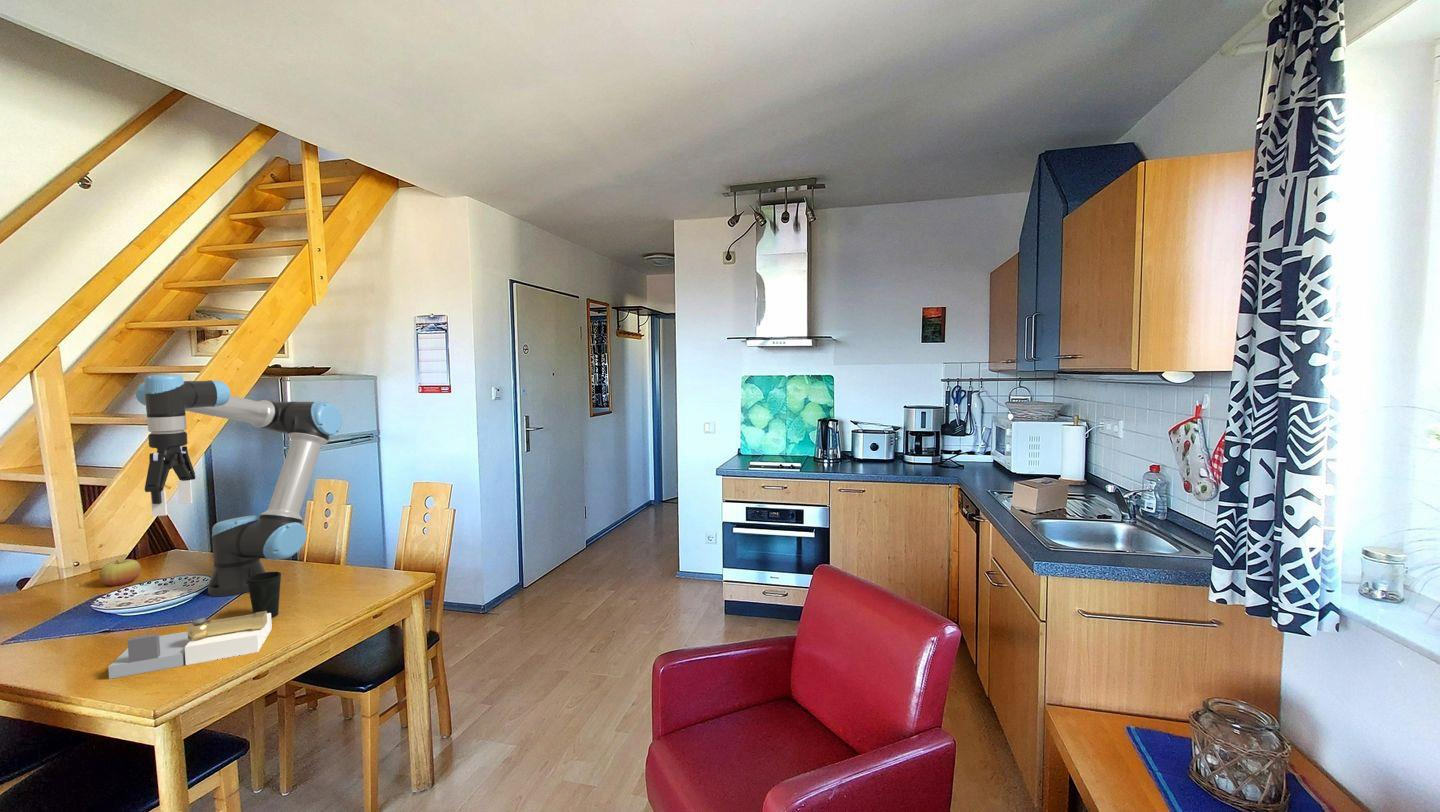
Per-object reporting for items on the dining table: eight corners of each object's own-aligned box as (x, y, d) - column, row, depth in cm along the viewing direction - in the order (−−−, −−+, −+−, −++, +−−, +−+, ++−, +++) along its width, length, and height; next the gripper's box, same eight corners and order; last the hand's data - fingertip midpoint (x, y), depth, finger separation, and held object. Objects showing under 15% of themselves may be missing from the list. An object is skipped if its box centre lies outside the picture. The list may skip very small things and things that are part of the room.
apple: (97, 584, 190) (95, 561, 190) (138, 575, 198) (136, 553, 198) (103, 591, 185) (101, 566, 184) (145, 581, 193) (143, 558, 192)
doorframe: (137, 650, 146) (135, 616, 145) (271, 628, 158) (270, 596, 158) (109, 679, 132) (106, 641, 132) (258, 652, 145) (256, 617, 144)
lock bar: (191, 633, 144) (190, 622, 144) (267, 621, 151) (266, 610, 151) (184, 641, 140) (184, 629, 140) (263, 628, 148) (262, 616, 147)
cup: (264, 623, 162) (261, 581, 161) (242, 620, 163) (240, 579, 162) (289, 611, 169) (287, 572, 168) (268, 609, 171) (266, 570, 170)
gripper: (173, 427, 164) (179, 500, 165) (121, 438, 140) (128, 522, 142) (206, 426, 166) (211, 497, 168) (160, 437, 143) (166, 519, 145)
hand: (173, 509), depth 155 cm, fingers open, 13 cm apart
